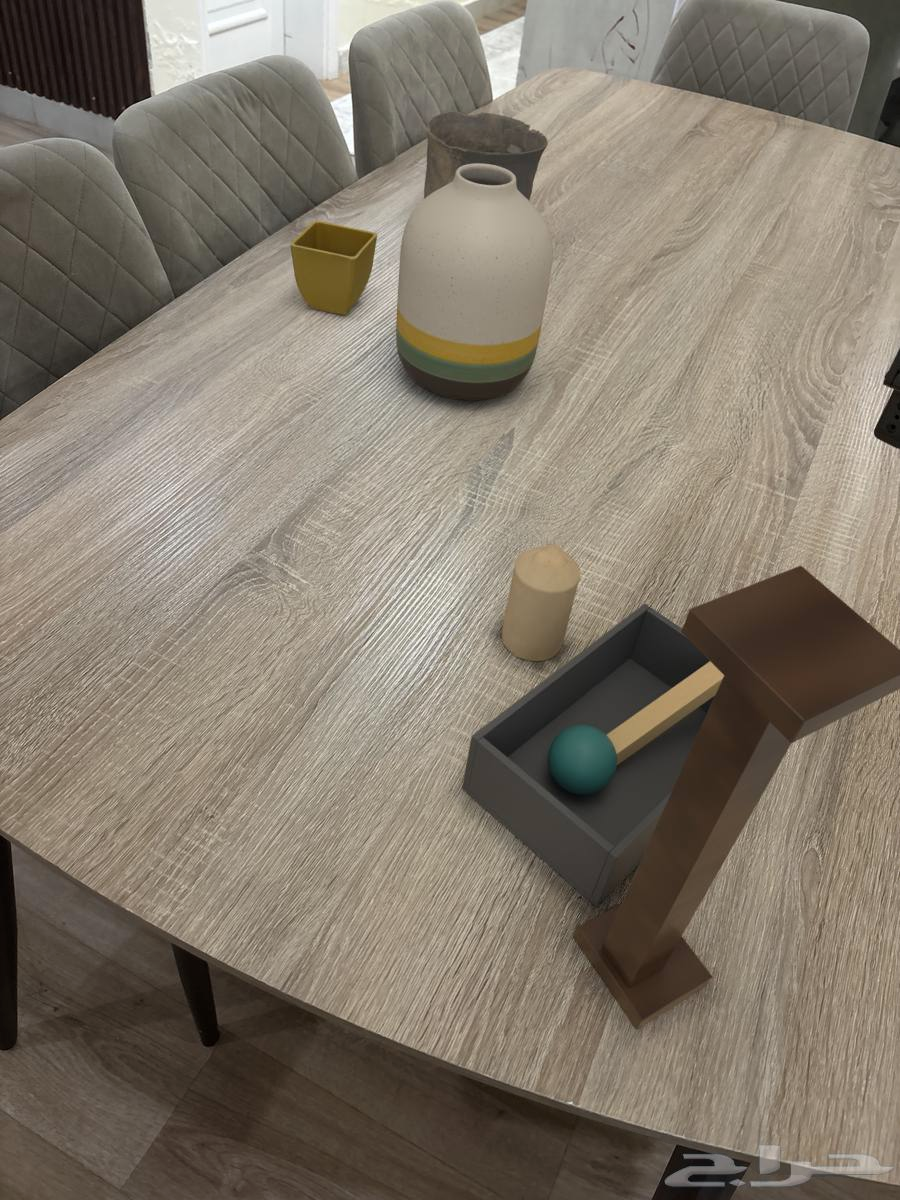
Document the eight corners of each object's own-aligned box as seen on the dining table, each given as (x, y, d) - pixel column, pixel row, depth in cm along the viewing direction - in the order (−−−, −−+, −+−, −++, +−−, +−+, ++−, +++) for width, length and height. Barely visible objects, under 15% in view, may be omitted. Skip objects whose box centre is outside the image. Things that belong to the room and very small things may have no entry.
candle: (515, 609, 86) (532, 525, 79) (571, 631, 85) (593, 548, 78) (491, 647, 83) (506, 562, 76) (549, 671, 81) (570, 587, 74)
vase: (365, 364, 115) (372, 160, 98) (467, 328, 123) (490, 136, 107) (456, 431, 106) (481, 219, 90) (559, 387, 115) (599, 188, 98)
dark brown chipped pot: (541, 223, 151) (557, 123, 141) (522, 268, 138) (538, 162, 128) (434, 203, 153) (442, 103, 142) (405, 245, 140) (412, 139, 130)
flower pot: (315, 284, 129) (314, 218, 122) (375, 297, 127) (378, 232, 121) (290, 311, 122) (288, 244, 116) (353, 326, 121) (355, 258, 115)
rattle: (752, 694, 73) (752, 660, 69) (579, 818, 71) (568, 791, 67) (707, 650, 76) (704, 615, 72) (541, 768, 74) (528, 739, 70)
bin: (754, 746, 77) (781, 694, 73) (596, 907, 66) (616, 858, 61) (627, 655, 83) (644, 602, 79) (461, 788, 72) (471, 735, 67)
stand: (706, 986, 62) (919, 664, 40) (624, 1037, 59) (804, 721, 37) (641, 899, 66) (801, 564, 44) (560, 943, 63) (689, 608, 41)
